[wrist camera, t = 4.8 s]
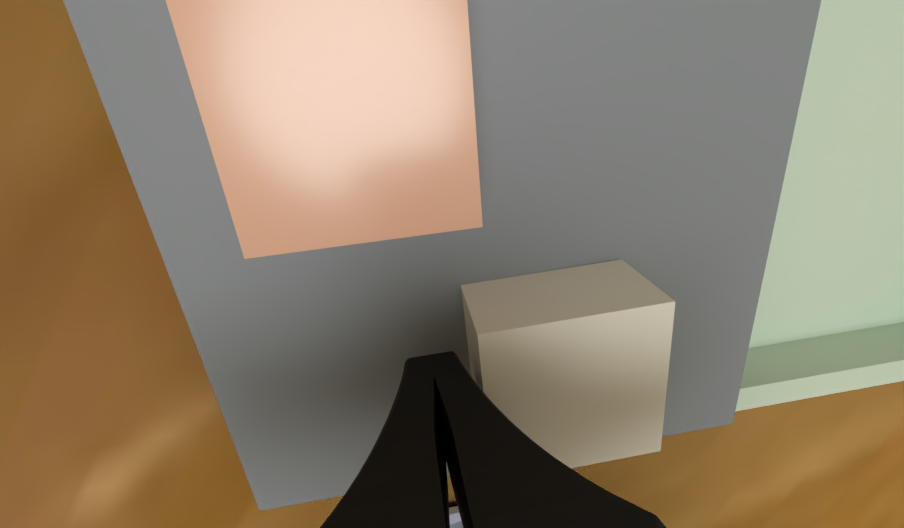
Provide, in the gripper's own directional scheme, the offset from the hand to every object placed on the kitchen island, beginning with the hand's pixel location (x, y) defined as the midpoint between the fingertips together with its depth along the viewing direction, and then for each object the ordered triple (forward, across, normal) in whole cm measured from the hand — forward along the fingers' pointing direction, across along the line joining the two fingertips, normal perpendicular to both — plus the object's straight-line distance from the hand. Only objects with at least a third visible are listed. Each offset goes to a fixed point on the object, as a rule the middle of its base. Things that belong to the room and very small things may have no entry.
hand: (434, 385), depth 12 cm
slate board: (+4, -2, -4) cm, 6 cm away
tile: (+1, -3, 0) cm, 4 cm away
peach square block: (+1, +1, -7) cm, 7 cm away
